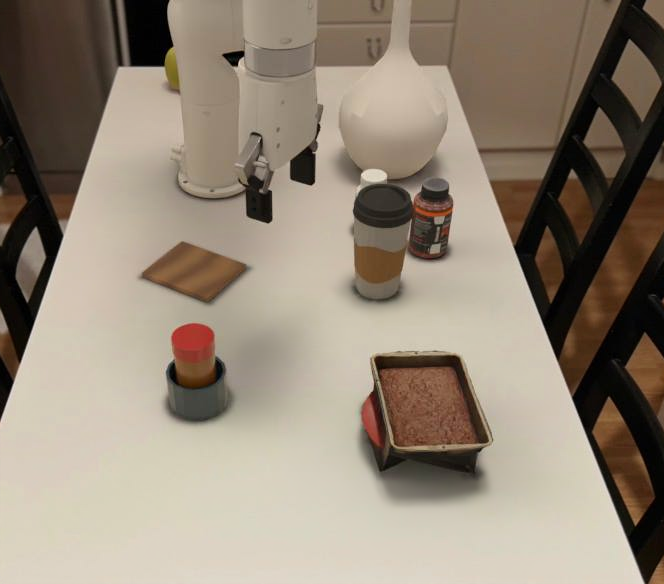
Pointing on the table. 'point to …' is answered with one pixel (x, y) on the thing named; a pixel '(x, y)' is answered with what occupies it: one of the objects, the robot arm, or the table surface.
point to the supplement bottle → (431, 219)
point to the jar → (194, 356)
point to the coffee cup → (380, 238)
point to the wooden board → (194, 271)
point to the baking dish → (424, 411)
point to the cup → (198, 395)
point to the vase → (393, 109)
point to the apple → (172, 69)
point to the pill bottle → (371, 179)
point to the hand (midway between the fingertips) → (281, 200)
